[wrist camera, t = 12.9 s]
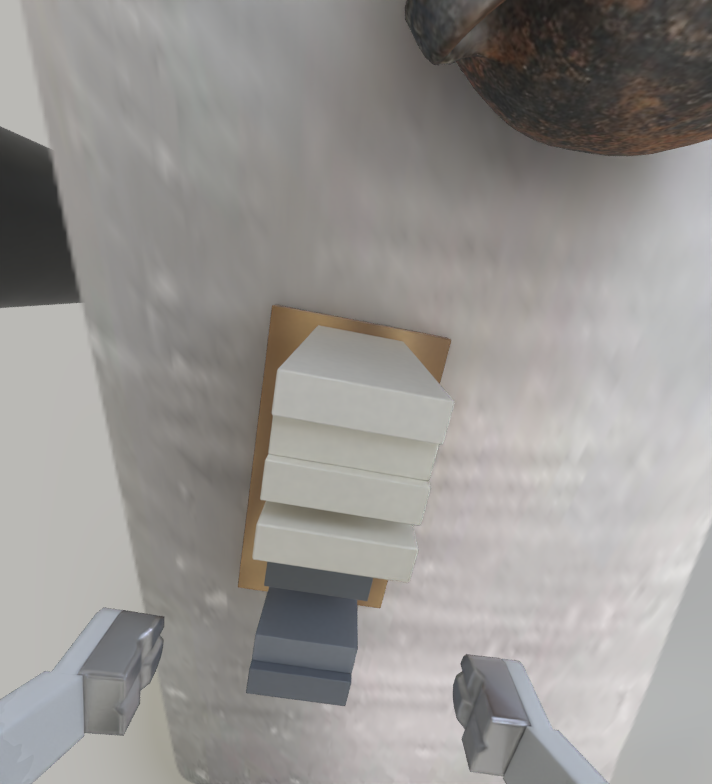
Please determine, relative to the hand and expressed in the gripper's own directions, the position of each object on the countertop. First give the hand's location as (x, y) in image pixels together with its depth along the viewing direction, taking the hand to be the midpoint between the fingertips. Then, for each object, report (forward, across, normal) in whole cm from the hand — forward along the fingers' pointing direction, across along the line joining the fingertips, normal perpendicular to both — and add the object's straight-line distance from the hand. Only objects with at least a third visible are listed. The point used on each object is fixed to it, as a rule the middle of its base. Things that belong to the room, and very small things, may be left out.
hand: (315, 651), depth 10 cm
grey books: (+17, 0, +10) cm, 20 cm away
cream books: (+17, 0, -4) cm, 17 cm away
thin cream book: (+17, -1, 0) cm, 17 cm away
